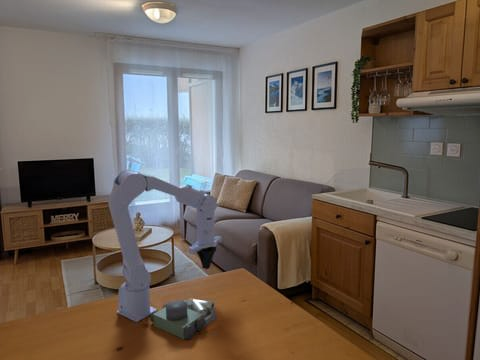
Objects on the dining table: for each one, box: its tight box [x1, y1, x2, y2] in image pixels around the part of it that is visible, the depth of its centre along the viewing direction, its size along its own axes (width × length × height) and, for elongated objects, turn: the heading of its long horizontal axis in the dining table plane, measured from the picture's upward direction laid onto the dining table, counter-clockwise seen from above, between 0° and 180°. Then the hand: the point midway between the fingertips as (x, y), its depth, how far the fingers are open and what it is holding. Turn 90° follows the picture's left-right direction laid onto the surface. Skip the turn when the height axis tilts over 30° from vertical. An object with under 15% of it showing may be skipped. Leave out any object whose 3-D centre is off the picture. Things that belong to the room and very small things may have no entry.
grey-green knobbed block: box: [149, 299, 218, 340], centre depth 105 cm, size 14×14×6 cm
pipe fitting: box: [187, 297, 215, 318], centre depth 109 cm, size 8×4×7 cm
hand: (206, 267), depth 120 cm, fingers closed
